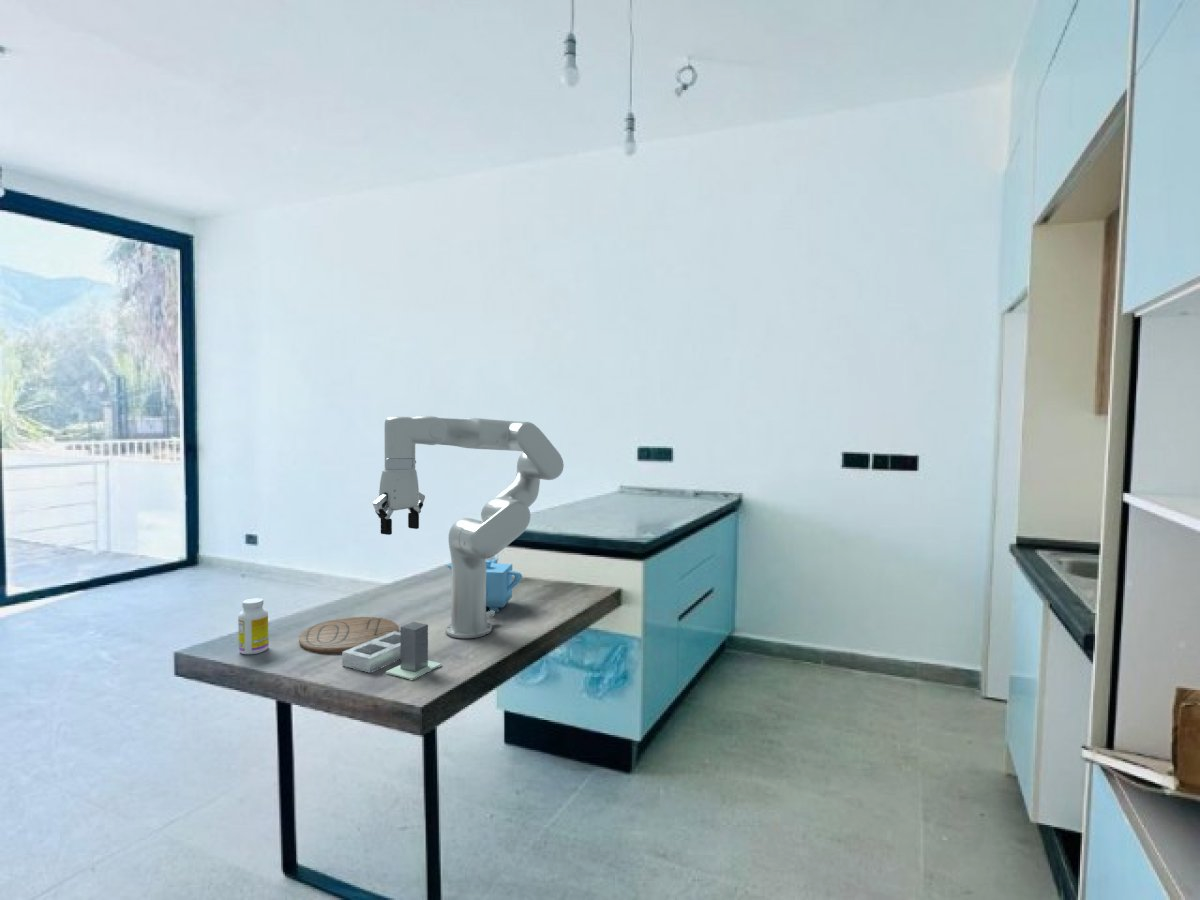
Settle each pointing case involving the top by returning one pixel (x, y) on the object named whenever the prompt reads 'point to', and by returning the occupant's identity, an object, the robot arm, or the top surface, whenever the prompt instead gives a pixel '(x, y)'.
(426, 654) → the zinc peg
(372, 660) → the grey cinder block
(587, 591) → the top surface
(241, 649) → the supplement bottle
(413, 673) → the sage pad
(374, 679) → the top surface
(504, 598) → the teakettle
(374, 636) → the trivet
